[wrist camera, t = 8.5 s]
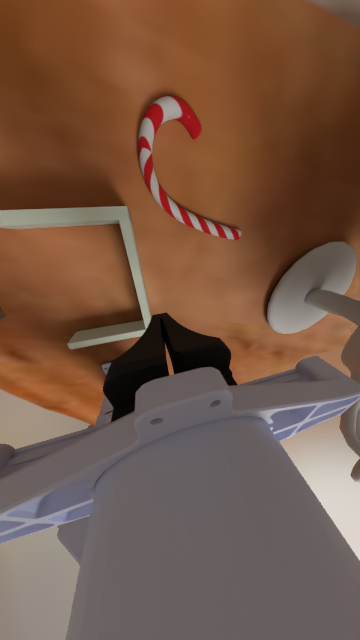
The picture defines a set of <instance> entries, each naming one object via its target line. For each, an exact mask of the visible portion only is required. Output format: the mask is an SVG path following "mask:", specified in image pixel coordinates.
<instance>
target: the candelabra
mask: <svg viewBox="0 0 360 640" xmlns="http://www.w3.org/2000/svg"><path fill="white" fill-rule="evenodd" d="M356 263H357V257H356V253H355V250H354V248H353V247H351V246H350V245H348V244H347V243H345V242H329V243H326V244H324V245H322V246H319V247H317V248H315V249H312V250H311V251H310V252H308V253H307V254H305V255H304V256H303V257H301V258H300V259H299V260H297V261H296V262H295V263H294V264H293V265H292V266H291V268H290V269H289V270H288V271H287V272H286V273H285V274H284V275H283V276H282V278H281V280H280V281H279V283H278V284H277V286H276V288H275V289H274V291H273V293H272V296H271V298H270V301H269V304H268V309H267V319H268V322H269V325H270V327H271V328H272V329H273V330H274V331H276V332H277V333H283V334H290V333H296V332H299V331H301V330H304V329H306V328H308V327H310V326H311V325H313V324H314V323H316V322H317V321H319V320H321V319H322V318H323V317H324V316H325V315H326V314H327V313H333V314H338V315H341V316H343V317H345V318H347V319H349V320H350V321H352V322H353V323H355V324H356V325H357V326H359V327H358V328H357V329H356V330H355V332H354V333H353V334H352V335H351V337H350V338H349V340H348V341H347V343H346V344H345V347H344V349H343V351H342V355H341V359H342V362H343V364H344V365H345V366H346V367H348V369H349V370H350V372H351V379H353V380H354V381H356V382H357V383H359V384H360V301H358V300H354V299H351V298H349V297H347V296H345V295H344V294H345V292H346V291H347V289H348V288H349V286H350V283H351V281H352V279H353V276H354V274H355V270H356ZM340 430H341V432H342V434H343V436H344V438H345V440H346V442H347V444H348V446H349V447H350V448H351V449H352V450H353V451H354V452H355V453H356V454H357V455H358V456H359V457H360V399H359V400H358V401H356V402H355V403H354V404H353V405H352V406H350V407H349V408H348V409H347V410H346V411H344V412H343V413H342V414H341V420H340ZM351 477H352V478H353V480H354V481H355V482H359V483H360V459H359V460H358V461H357V463H356V464H355V466H354V467H353V470H352V472H351Z"/></svg>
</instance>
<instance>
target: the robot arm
mask: <svg viewBox="0 0 360 640" xmlns="http://www.w3.org/2000/svg"><path fill="white" fill-rule="evenodd" d="M165 343H166V346H167V349H168V352H169V355H170V358H171V362H172V366H173V370H174V375H170V376H169V372H168V366H167V361H166V350H165ZM230 360H231V352H230V350H229V348H228V347H227V346H226V345H225V343H224V342H223V341H222V340H221V339H220V338H216V337H211V336H206V335H202V334H199V333H196V332H194V331H191V330H189V329H187V328H185V327H183V326H182V325H180V324H179V323H177V322H176V321H175V320H174V319H173V318H171V317H170V316H169V315H168V314H167V313H162V314H156V315H153V316H152V318H151V321H150V323H149V325H148V327H147V329H146V331H145V332H144V334H143V335H142V337H141V338H140V339H139V340H138V341H137V342H136V343H135V344H134V345H133V346H132V347H131V348H130V349H129V350H128V351H126V352H125V353H124V354H123V355H121V356H120V357H118V358H117V359H115V360H114V361H112V362H109V363H105V364H102V369H103V370H104V372H105V374H106V378H105V382H104V386H103V392H104V398H103V402H102V406H101V410H100V414H99V416H98V417H97V421H96V425H95V427H94V425H89V426H88V428H87V429H84V430H81V431H77V432H74V433H71V434H67V435H64V436H60V437H57V438H53V439H50V440H46V441H43V442H40V443H36V444H32V445H29V446H26V447H22V448H19V449H14V448H13V447H12V446H10V445H7V444H0V544H3V543H6V542H9V541H12V540H15V539H18V538H21V537H24V536H27V535H30V534H33V533H36V532H40V531H43V530H46V529H49V528H52V527H55V526H58V528H59V530H58V535H57V536H58V539H59V540H60V542H61V543H62V544H63V545H64V546H65V548H66V549H67V550H68V551H69V552H70V553H71V555H72V556H73V557H74V558H75V559H76V561H77V562H78V563H79V565H80V570H79V575H78V580H77V585H76V590H75V595H74V601H73V605H72V611H71V616H70V621H69V626H68V631H67V636H66V640H360V561H359V559H358V558H357V556H356V555H355V553H354V552H353V551H352V549H351V548H350V546H349V545H348V543H347V542H346V540H345V539H344V537H343V536H342V534H341V533H340V531H339V530H338V528H337V527H336V525H335V524H334V522H333V521H332V520H331V518H330V516H329V515H328V514H327V512H326V511H325V509H324V508H323V506H322V505H321V503H320V502H319V500H318V499H317V497H316V496H315V494H314V493H313V491H312V490H311V488H310V487H309V485H308V484H307V483H306V481H305V480H304V478H303V477H302V475H301V474H300V472H299V471H298V469H297V468H296V466H295V465H294V463H293V462H292V460H291V459H290V457H289V456H288V454H287V453H286V451H285V450H284V448H283V447H282V445H281V444H280V441H282V440H285V439H287V438H289V437H291V436H293V435H295V434H297V433H299V432H301V431H304V430H306V429H308V428H310V427H312V426H314V425H316V424H319V423H321V422H323V421H326V420H328V419H331V418H333V417H336V416H338V415H341V414H342V413H343V412H344V411H346V410H347V409H348V408H349V407H350V406H352V405H353V404H354V403H355V402H356V401H358V400H359V399H360V384H359V383H357V382H356V381H354V380H353V379H351V378H350V377H348V376H347V375H345V374H344V373H342V372H341V371H339V370H338V369H336V368H334V367H333V366H331V365H330V364H328V363H327V362H325V361H324V360H322V359H321V358H319V357H318V356H313V357H309V358H305V359H303V360H301V361H300V362H298V363H297V365H296V367H295V369H292V370H289V371H285V372H282V373H278V374H275V375H271V376H268V377H265V378H261V379H258V380H254V381H251V382H247V383H244V384H240V385H237V383H236V382H235V380H234V379H233V377H232V372H231V370H230V369H229V365H230Z"/></svg>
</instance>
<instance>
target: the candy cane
mask: <svg viewBox="0 0 360 640" xmlns="http://www.w3.org/2000/svg"><path fill="white" fill-rule="evenodd" d="M168 120H177V121H179V122H181V123H182V124H183V125H184V126H185V128H186V129H187V130H188V132H189V134H190V136H191V137H192V139H196V138H197V137H198V136H199V134H200V133H201V131H202V128H201V125H200V122H199V120H198V118H197V116H196V115H195V113H194V112H193V110H192V109H191V107H190V106H189V105H188V104H187V103H186V102H185V101H183V100H182V99H180V98H178V97H175V96H165V97H162V98H160V99H158V100H156V101H155V102H154V103H152V104H151V105H150V106H149V107H148V109H147V111H146V113H145V115H144V117H143V120H142V123H141V127H140V133H139V142H138V151H139V161H140V167H141V171H142V175H143V178H144V180H145V183H146V185H147V187H148V189H149V191H150V193H151V194H152V196H153V197H154V199H155V200H156V201H157V203H158V204H159V205H160V206H161V207H162V208H163V209H164V210H165V211H166V212H167V213H168V214H170V215H171V216H172V217H174V218H175V219H177V220H178V221H180V222H182V223H184V224H186V225H188V226H190V227H193V228H195V229H198V230H200V231H203V232H206V233H209V234H212V235H215V236H219V237H223V238H227V239H233V240H238V239H239V238H240V237H241V231H240V230H238V229H235V228H231V227H227V226H223V225H220V224H217V223H214V222H211V221H209V220H206V219H204V218H201V217H199V216H197V215H194V214H192V213H190V212H188V211H186V210H185V209H183V208H181V207H180V206H179V205H177V204H176V203H175V202H173V201H172V200H171V199H170V198H169V197H168V196H167V195H166V193H165V192H164V191H163V189H162V188H161V186H160V184H159V182H158V180H157V178H156V175H155V172H154V168H153V162H152V145H153V140H154V137H155V134H156V131H157V129H158V127H159V126H160V125H161V124H163V123H164V122H166V121H168Z"/></svg>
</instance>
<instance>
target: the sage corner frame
mask: <svg viewBox="0 0 360 640" xmlns="http://www.w3.org/2000/svg"><path fill="white" fill-rule="evenodd" d="M102 224H120V227H121V231H122V235H123V239H124V243H125V247H126V251H127V255H128V259H129V263H130V267H131V272H132V276H133V280H134V284H135V288H136V292H137V296H138V300H139V304H140V308H141V312H142V316H143V320H140V321H134V322H128V323H122V324H117V325H111V326H105V327H99V328H94V329H88V330H82V331H76V333H75V334H74V335H73V337H72V338H71V339H70V341H69V342H68V343H67V345H68V347H69V348H70V350H71V349H76V348H81V347H87V346H92V345H97V344H102V343H108V342H113V341H118V340H123V339H128V338H134V337H139V336H142V335H143V334H144V332H145V331H146V329H147V327H148V325H149V323H150V321H151V313H150V308H149V304H148V299H147V294H146V289H145V284H144V280H143V275H142V270H141V265H140V260H139V255H138V251H137V246H136V241H135V236H134V231H133V227H132V222H131V217H130V212H129V210H128V208H127V206H112V207H83V208H54V209H25V210H0V228H8V229H30V228H48V227H66V226H84V225H102Z"/></svg>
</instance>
